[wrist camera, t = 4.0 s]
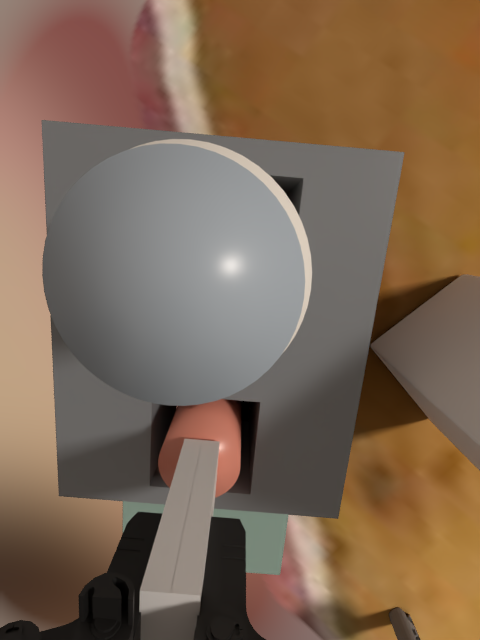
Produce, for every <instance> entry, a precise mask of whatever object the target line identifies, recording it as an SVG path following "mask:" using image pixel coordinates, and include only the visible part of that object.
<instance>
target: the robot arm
mask: <svg viewBox="0 0 480 640" xmlns="http://www.w3.org/2000/svg"><path fill="white" fill-rule="evenodd" d="M219 443H220V441H208V440H196V439H184V442H183V446H182V449H181V453H180V456H179V459H178V463H177V466H176V470H175V473H174V476H173V480H172V483H171V486H170V490H169V493H168V497H167V500H166V503H165V507H164V510H163V514H162V513H150V512H137V513H136V514H135V515H134V516H133V517H132V518H131V520H130V521H129V522H128V523H127V525H126V527H125V530H124V532H123V535H122V537H121V540H120V542H119V545H118V547H117V550H116V552H115V554H114V557H113V559H112V562H111V564H110V566H109V569H108V571H107V573H104V574H102V575H100V576H98V577H95V578H94V579H93V580H91V581H90V582H89V583H88V584H87V585H85V587H84V588H83V590H82V591H81V593H80V594H79V618H78V619H76V620H75V621H73V622H71V623H69V624H66V625H63V626H60V627H57V628H53V629H49V630H45V631H41V632H39V628H38V627H37V626H36V625H35V624H33V623H32V622H30V621H23V620H20V621H16V622H12V623H8V624H7V625H5V626H3V627H1V628H0V640H266V639H264V638H262V637H261V636H260V635H259V634H258V633H257V632H256V631H255V630H254V629H253V627H252V625H251V624H250V622H249V619H248V616H247V612H246V531H245V529H244V527H243V525H242V523H241V520H240V519H236V518H224V517H213V512H214V503H215V494H216V481H217V468H218V456H219Z"/></svg>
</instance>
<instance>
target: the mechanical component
mask: <svg viewBox="0 0 480 640" xmlns="http://www.w3.org/2000/svg"><path fill="white" fill-rule="evenodd" d="M389 617H390V621H391V623H392V626H393V628H394V631H395V634H396V636H397V639H398V640H420V638H419V635H418V633H417V631H416V628H415V626H414V624H413V621H412V619H411V617H410V615H409V614H408V615H407V616H406V614H405V612H404V611H403V610H402V609H400V608H399V607H398V608H395V609H393V610H392V611H391V612H390V613H389Z"/></svg>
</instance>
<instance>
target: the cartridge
mask: <svg viewBox="0 0 480 640" xmlns="http://www.w3.org/2000/svg"><path fill="white" fill-rule="evenodd" d="M311 282H312V263H311V253H310V248H309V243H308V238H307V235H306V233H305V230H304V227H303V224H302V221H301V219H300V217H299V215H298V213H297V211H296V209H295V207H294V205H293V204H292V202H291V201H290V199H289V198H288V196H287V195H286V193H285V192H284V191H283V189H282V188H281V187H280V186H279V185H278V184H277V183H276V182H275V180H274V179H273V178H272V177H271V176H270V175H268V174H267V173H266V172H265V171H264V170H263V169H261V168H260V167H259V166H258V165H256V164H255V163H253V162H252V161H250V160H249V159H247V158H246V157H244V156H242V155H240V154H238V153H236V152H234V151H232V150H230V149H228V148H225V147H222V146H219V145H216V144H212V143H209V142H204V141H197V140H191V139H168V140H160V141H153V142H149V143H146V144H142V145H139V146H136V147H133V148H131V149H129V150H125V151H123V152H120V153H118V154H116V155H114V156H111V157H109V158H107V159H106V160H104V161H102V162H101V163H99V164H98V165H96V166H94V167H93V168H92V169H90V170H89V171H88V172H87V173H86V174H85V175H83V176H82V177H81V178H80V179H79V180H78V181H77V182H76V183H75V184H74V186H73V187H72V188H71V189H70V190H69V191H68V193H67V194H66V195H65V197H64V199H63V200H62V202H61V203H60V205H59V206H58V208H57V210H56V212H55V215H54V217H53V219H52V221H51V223H50V227H49V230H48V233H47V237H46V240H45V247H44V253H43V284H44V292H45V296H46V300H47V304H48V308H49V311H50V314H51V316H52V319H53V322H54V324H55V326H56V328H57V330H58V332H59V334H60V335H61V337H62V339H63V341H64V342H65V344H66V345H67V346H68V348H69V349H70V351H71V352H72V353H73V355H74V356H75V357H76V358H77V359H78V360H79V361H80V362H81V364H82V365H83V366H84V367H86V368H87V369H88V370H89V371H90V372H91V373H92V374H93V375H95V376H96V377H97V378H99V379H100V380H101V381H103V382H104V383H106V384H107V385H109V386H110V387H112V388H114V389H116V390H118V391H120V392H122V393H124V394H126V395H129V396H131V397H134V398H136V399H139V400H143V401H147V402H150V403H155V404H162V405H169V406H188V405H199V404H204V403H209V402H213V401H217V400H220V399H222V398H225V397H228V396H231V395H233V394H235V393H237V392H239V391H241V390H243V389H244V388H246V387H247V386H249V385H250V384H252V383H253V382H255V381H256V380H258V379H259V378H260V377H261V376H262V375H263V374H264V373H266V372H267V371H268V370H269V369H270V368H271V367H272V366H273V364H274V363H275V362H276V361H277V360H278V359H279V358H280V356H281V355H282V353H283V352H284V351H285V350H286V349H287V347H288V346H289V344H290V343H291V341H292V340H293V338H294V337H295V335H296V333H297V331H298V329H299V327H300V325H301V323H302V321H303V318H304V315H305V312H306V310H307V307H308V302H309V297H310V292H311Z"/></svg>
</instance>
